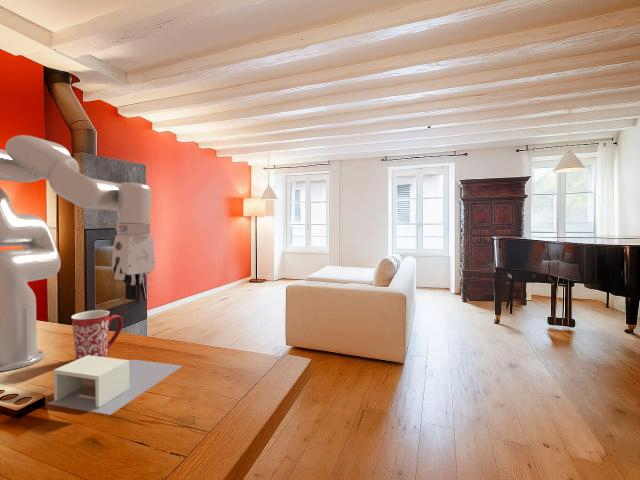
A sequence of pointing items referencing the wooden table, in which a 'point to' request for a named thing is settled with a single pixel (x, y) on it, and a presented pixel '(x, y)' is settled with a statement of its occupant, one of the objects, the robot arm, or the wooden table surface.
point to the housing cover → (93, 377)
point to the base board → (139, 381)
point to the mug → (93, 332)
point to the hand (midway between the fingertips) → (132, 298)
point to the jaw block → (88, 387)
